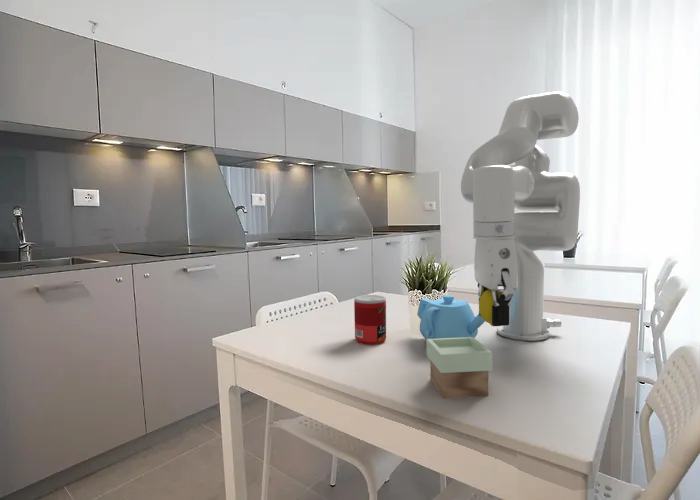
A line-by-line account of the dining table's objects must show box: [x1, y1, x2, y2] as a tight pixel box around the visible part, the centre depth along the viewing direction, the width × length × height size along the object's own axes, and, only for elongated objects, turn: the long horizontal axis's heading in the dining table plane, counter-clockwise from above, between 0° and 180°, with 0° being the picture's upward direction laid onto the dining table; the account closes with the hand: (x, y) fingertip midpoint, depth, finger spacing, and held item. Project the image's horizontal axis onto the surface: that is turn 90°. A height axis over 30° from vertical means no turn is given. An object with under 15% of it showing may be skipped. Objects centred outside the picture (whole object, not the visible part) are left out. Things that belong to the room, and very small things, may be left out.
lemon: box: [478, 289, 503, 327], centre depth 82 cm, size 6×6×8 cm
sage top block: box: [426, 337, 493, 373], centre depth 75 cm, size 9×9×3 cm
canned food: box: [353, 294, 387, 346], centre depth 104 cm, size 8×8×11 cm
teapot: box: [417, 294, 486, 340], centre depth 101 cm, size 20×17×12 cm
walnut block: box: [429, 360, 490, 399], centre depth 75 cm, size 8×8×5 cm
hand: (493, 319), depth 83 cm, fingers closed on lemon, 5 cm apart
